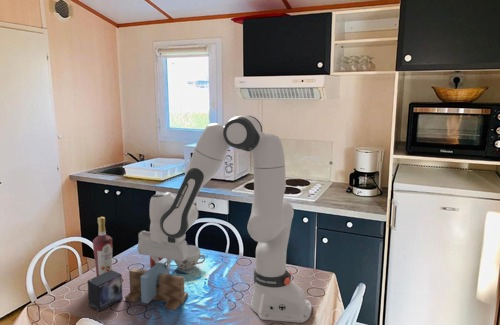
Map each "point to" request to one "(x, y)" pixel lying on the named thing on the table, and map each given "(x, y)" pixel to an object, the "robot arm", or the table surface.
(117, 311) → the table surface
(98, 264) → the liquor
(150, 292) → the blue-gray flat plate
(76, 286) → the table surface
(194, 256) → the teacup
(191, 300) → the table surface
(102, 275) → the small box
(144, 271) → the walnut slotted board
